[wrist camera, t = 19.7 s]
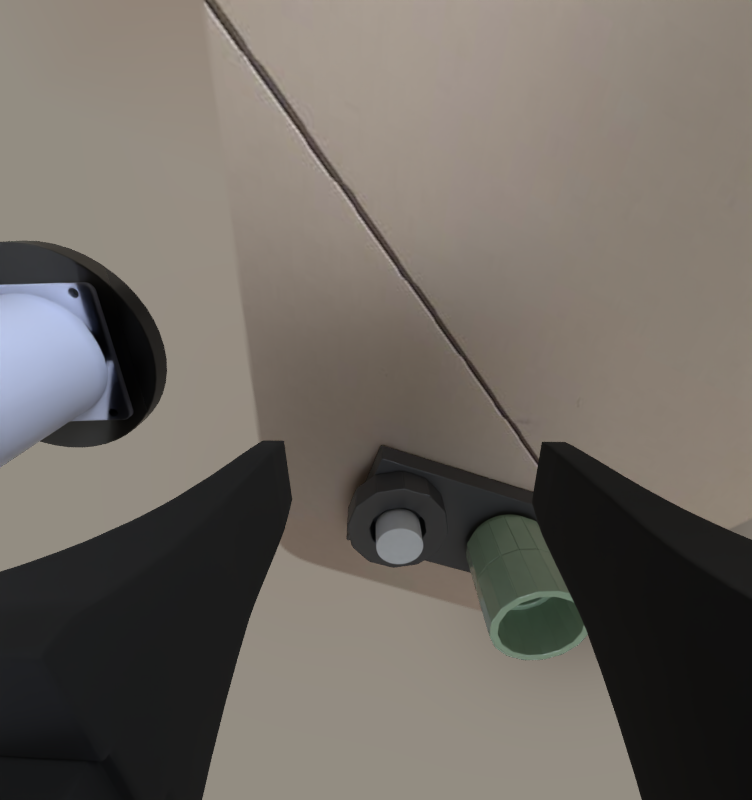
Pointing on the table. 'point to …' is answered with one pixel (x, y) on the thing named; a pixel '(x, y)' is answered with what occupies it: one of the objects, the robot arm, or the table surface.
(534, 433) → the table surface
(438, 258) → the table surface
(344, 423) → the table surface
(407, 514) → the button
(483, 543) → the green faceted cup
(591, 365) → the table surface
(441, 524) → the scale
